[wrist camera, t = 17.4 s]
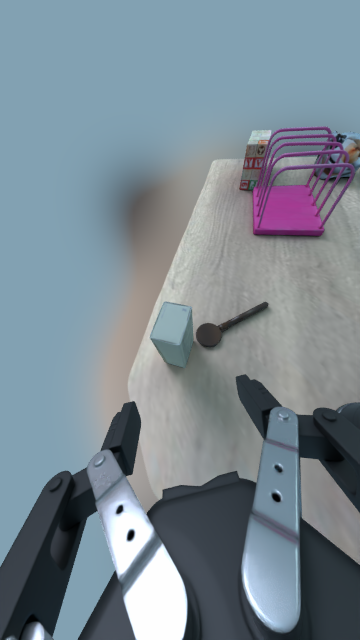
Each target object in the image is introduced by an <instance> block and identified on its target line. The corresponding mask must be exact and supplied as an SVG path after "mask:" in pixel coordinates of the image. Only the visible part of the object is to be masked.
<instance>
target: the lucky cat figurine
mask: <svg viewBox="0 0 360 640" xmlns="http://www.w3.org/2000/svg"><path fill="white" fill-rule="evenodd" d="M331 134H332V135H334V136H335V137H336V142H339V143H341V144H342V145H343V148H344V150H345V151H347V153H348V154H349V162H348V163H349V164H351V165H353V166H354V168H355V172H356V171H357V170H358V169H359V167H360V135H359V134H357V133H354V132H346V133H343V134H337V131H335V132H333V133H331ZM329 142H333V139H330V141H329ZM332 147H333V145H328V146H327V148H326V150H325V151H327V150H331V149H332ZM334 150H340V148H339V147H338V146H335V149H334ZM322 151H323V150H322ZM339 155H340V154H332V155H331V157H330V159H329V161H328V163H327V164H335V163H336V161H337V159H338V157H339ZM328 156H329V154H323V156H322V158H321V160H320V162H319V164H325V161H326V159H327V157H328ZM319 158H320V155H318V157H317V159H316V162H315V164H317V162H318V160H319ZM345 161H346V157H345V155H344V154H343V155H342V157H341V159H340V161H339V163H345ZM339 163H338V164H339ZM315 164H314V165H315ZM321 169H322V168H316V171H315V173H314V175H315V176H317V177H318V175H319V173H320V171H321ZM341 169H342V167H336V168H335V170H334V171H333V173H332V175H331V177H330V178H333V177H337V176H338V175H339V173H340V171H341ZM331 170H332V168H325V169H324V171H323V172H322V174H321V176H320V179H326V178H327V177H328V175H329V173H330V172H331ZM350 176H351V169H350V168H348V167H346V168H345V170H344V172H343V173H342V175H341V177H350Z"/></svg>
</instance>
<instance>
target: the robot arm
mask: <svg viewBox="0 0 360 640" xmlns="http://www.w3.org/2000/svg"><path fill="white" fill-rule="evenodd" d="M236 383H237V390H238V395H239V398H240V401H241V403H242V404H243V406H244V407H245V409H246V411H247V412H248V414H249V416H250V417H251V419H252V421H253V422H254V424H255V426H256V427H257V429H258V431H259V432H260V434H261V436H262V437H263V439H264V441H263V447H262V453H261V459H260V466H259V472H258V478H257V483H255V482H253V481H251V480H248V479H243V478H239V476H238V473H237V471H234V472H230V473H227V474H223V475H219V476H217V477H215V478H214V479H212V480H211V481H209V482H207V483H206V484H204V485H202V486H187V485H179V486H176V487H172V488H168V489H164V490H163V498H162V499H160V500H159V501H158V502H156V503H155V504H154V505H153V506H152V507H151V509H150V510H149V511H148V512H147V514H146V513H145V511H144V509H143V507H142V506H141V504H140V502H139V500H138V498H137V496H136V495H135V493H134V491H133V489H132V487H131V485H130V483H129V482H128V480H127V478H126V476H128V475H132V474H133V468H134V463H135V457H136V451H137V446H138V440H139V434H140V429H141V418H140V415H139V412H138V409H137V406H136V403H135V402H134V401H133V402H129V403H125V404H124V405H123V407H122V410H121V412H118V413H117V414H116V416H115V417H114V418H113V420H112V422H111V426H110V428H109V430H108V433H107V435H106V438H105V440H104V443H103V446H102V448H101V451H100V452H99V453H97V454H96V455H95V456H94V457H93V458H92V459H91V460H90V462H89V464H88V466H87V468H85V469H83V470H81V471H80V472H78V473H76V474H74V475H71V473H70V472H69V471H63V472H60V473H58V474H57V475H55V476H54V477H53V478H52V479H51V480H50V481H49V482H48V483H47V484H46V486H45V487H44V488H43V490H42V492H41V494H40V496H39V497H38V499H37V501H36V503H35V505H34V507H33V508H32V510H31V512H30V514H29V516H28V518H27V519H26V521H25V523H24V525H23V527H22V529H21V530H20V532H19V534H18V536H17V538H16V540H15V541H14V543H13V545H12V547H11V549H10V551H9V552H8V554H7V556H6V558H5V560H4V561H3V563H2V565H1V567H0V640H54V639H53V638H52V636H53V633H54V630H55V626H56V623H57V619H58V616H59V613H60V609H61V606H62V602H63V599H64V596H65V592H66V588H67V585H68V582H69V578H70V575H71V572H72V568H73V565H74V561H75V558H76V555H77V551H78V548H79V544H80V541H81V537H82V534H83V531H84V527H85V524H86V520H87V517H89V516H90V515H92V514H93V513H94V512H96V511H98V514H99V517H100V520H101V523H102V526H103V530H104V533H105V536H106V539H107V543H108V546H109V549H110V552H111V556H112V559H113V562H114V565H115V569H116V570H115V572H114V574H113V575H112V577H111V579H110V581H109V583H108V585H107V586H106V588H105V590H104V592H103V594H102V595H101V597H100V599H99V601H98V603H97V605H96V607H95V608H94V611H93V612H92V614H91V616H90V618H89V619H88V621H87V623H86V625H85V627H84V629H83V630H82V632H81V634H80V636H79V638H78V640H360V565H359V564H358V563H356V562H355V561H354V560H353V559H352V558H350V557H349V556H348V555H347V554H345V553H344V552H343V551H342V550H340V549H339V548H338V547H337V546H335V545H334V544H333V543H332V542H331V541H329V540H328V539H327V538H326V537H324V536H323V535H322V534H321V533H319V532H318V531H317V530H316V529H314V528H313V527H312V526H311V525H310V524H308V523H307V522H306V521H305V520H303V519H302V503H301V473H300V457H302V458H312V459H319V461H320V462H321V463H322V465H323V466H324V467H325V468H326V470H327V471H328V472H329V474H330V475H331V476H332V477H333V479H334V480H335V481H336V483H337V484H338V485H339V487H340V488H341V489H342V490H343V492H344V493H345V494H346V496H347V497H348V498H349V500H350V501H351V502H352V503H353V505H354V506H355V507H356V509H357V510H358V511H359V512H360V403H349V404H345V405H342V406H341V407H339V408H338V409H337V410H336V411H335V410H332V409H328V408H317V409H315V410H314V411H313V415H298V414H295V413H294V412H293V411H292V410H290V409H288V408H285V407H282V406H281V404H280V403H279V402H278V401H277V400H276V399H275V398H274V397H273V396H272V395H271V393H270V392H269V391H268V390H267V389H266V388H265V387H264V386H263V385H262V383H260V382H259V381H257V380H255V379H254V380H250V379H249V378H248V376H247V375H241V376H237V377H236Z"/></svg>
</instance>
